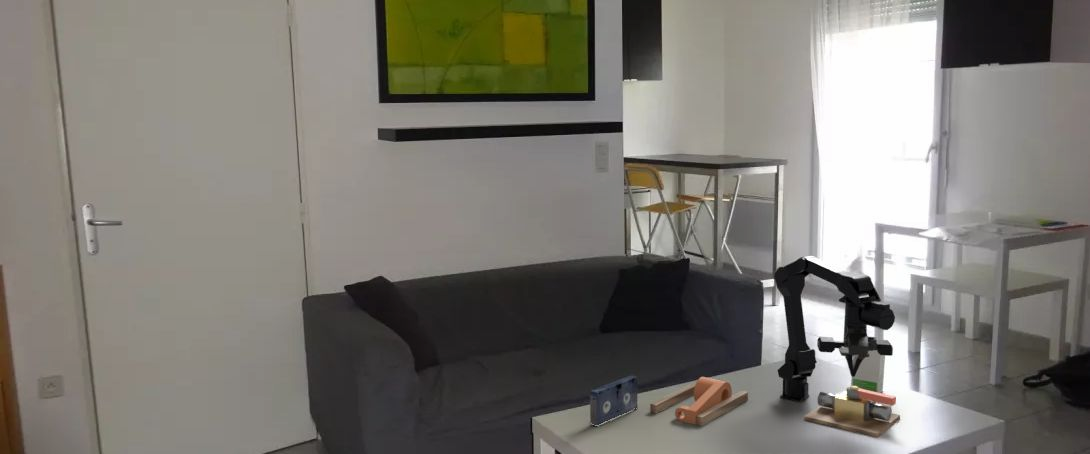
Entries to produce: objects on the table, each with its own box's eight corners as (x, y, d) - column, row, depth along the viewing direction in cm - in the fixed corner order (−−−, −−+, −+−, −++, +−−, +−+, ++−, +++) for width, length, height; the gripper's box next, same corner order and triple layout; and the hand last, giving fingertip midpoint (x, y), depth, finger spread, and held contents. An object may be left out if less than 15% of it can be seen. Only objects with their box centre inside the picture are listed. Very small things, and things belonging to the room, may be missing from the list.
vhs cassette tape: (631, 407, 240) (631, 374, 238) (639, 410, 237) (639, 376, 236) (588, 425, 227) (588, 390, 225) (596, 427, 225) (596, 392, 223)
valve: (815, 410, 231) (815, 393, 230) (825, 403, 236) (825, 386, 236) (884, 426, 219) (884, 408, 218) (893, 418, 224) (893, 401, 223)
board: (804, 419, 227) (804, 416, 227) (829, 402, 240) (829, 399, 240) (877, 437, 214) (877, 433, 214) (899, 418, 227) (900, 415, 226)
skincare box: (850, 392, 248) (851, 342, 246) (855, 386, 254) (857, 337, 252) (879, 397, 244) (881, 346, 241) (884, 390, 249) (886, 340, 247)
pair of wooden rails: (650, 412, 235) (650, 403, 235) (697, 388, 254) (697, 380, 254) (702, 426, 224) (702, 417, 224) (747, 400, 243) (748, 391, 243)
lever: (843, 396, 227) (844, 387, 226) (850, 392, 229) (850, 383, 229) (890, 407, 218) (891, 398, 217) (897, 403, 220) (897, 394, 220)
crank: (707, 399, 245) (707, 373, 244) (731, 405, 240) (731, 379, 239) (671, 418, 231) (671, 391, 229) (695, 425, 225) (695, 397, 224)
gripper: (823, 327, 216) (820, 384, 219) (898, 331, 212) (895, 388, 215) (818, 316, 227) (815, 370, 229) (890, 319, 223) (886, 374, 226)
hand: (852, 376), depth 224 cm, fingers closed
